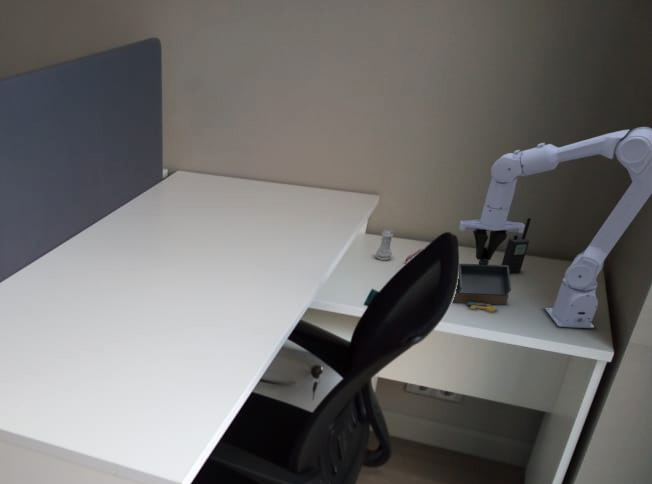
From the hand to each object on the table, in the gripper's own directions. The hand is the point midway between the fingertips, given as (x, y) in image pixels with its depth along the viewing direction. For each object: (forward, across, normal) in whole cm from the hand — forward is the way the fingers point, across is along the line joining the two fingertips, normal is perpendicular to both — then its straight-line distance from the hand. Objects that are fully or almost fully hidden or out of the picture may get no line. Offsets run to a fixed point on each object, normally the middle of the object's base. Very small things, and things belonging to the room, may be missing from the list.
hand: (482, 258), depth 182 cm
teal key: (+10, +1, +7) cm, 12 cm away
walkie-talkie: (+10, -14, -17) cm, 24 cm away
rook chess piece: (+10, +19, -23) cm, 31 cm away
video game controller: (+10, +11, -15) cm, 21 cm away
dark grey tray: (+4, 0, +1) cm, 4 cm away
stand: (+10, 0, +2) cm, 10 cm away
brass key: (+9, 0, +8) cm, 13 cm away
